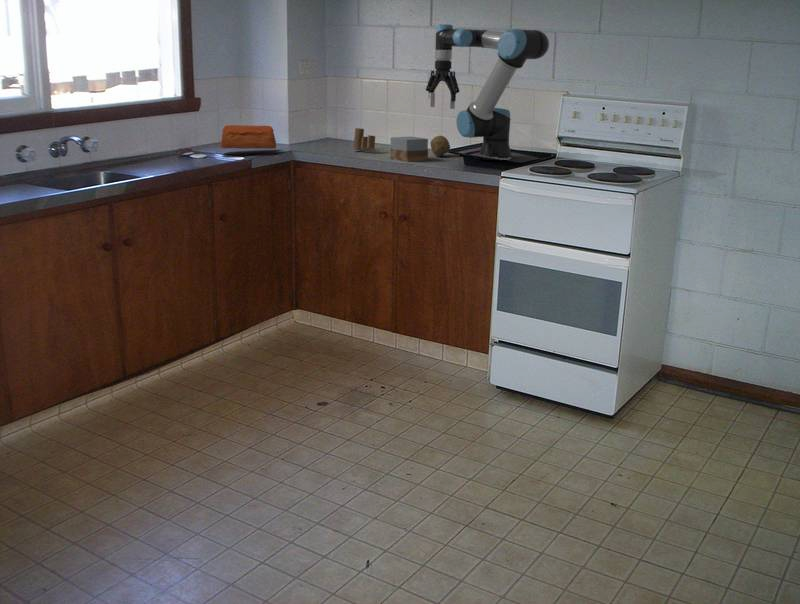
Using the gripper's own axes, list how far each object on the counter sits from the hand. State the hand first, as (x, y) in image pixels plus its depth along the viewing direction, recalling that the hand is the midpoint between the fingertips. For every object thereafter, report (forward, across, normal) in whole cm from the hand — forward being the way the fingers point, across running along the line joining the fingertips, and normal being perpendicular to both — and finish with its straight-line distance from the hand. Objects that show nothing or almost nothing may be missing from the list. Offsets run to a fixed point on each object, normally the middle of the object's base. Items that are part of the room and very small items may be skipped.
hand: (441, 107), depth 405 cm
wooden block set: (+22, +39, +15) cm, 48 cm away
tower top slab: (+18, 0, +19) cm, 26 cm away
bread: (+22, +77, +57) cm, 99 cm away
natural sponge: (+23, 0, 0) cm, 23 cm away
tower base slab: (+23, 0, +19) cm, 30 cm away
